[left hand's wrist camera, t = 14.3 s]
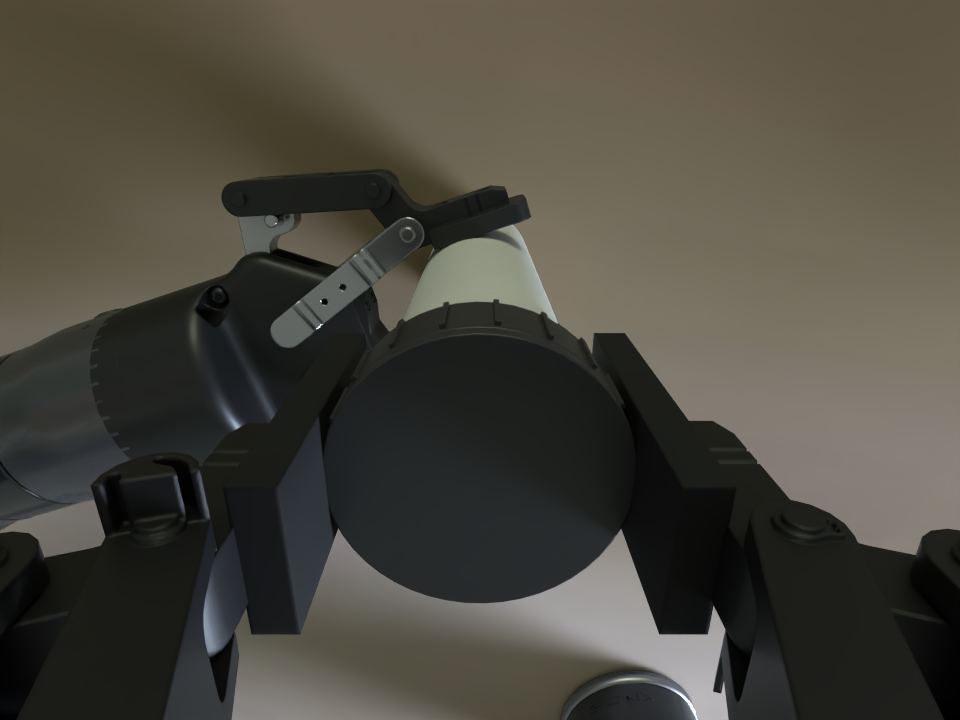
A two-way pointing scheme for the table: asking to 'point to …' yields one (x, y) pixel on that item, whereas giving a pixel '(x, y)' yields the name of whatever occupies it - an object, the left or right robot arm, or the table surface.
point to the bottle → (481, 275)
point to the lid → (479, 454)
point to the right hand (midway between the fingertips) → (543, 273)
